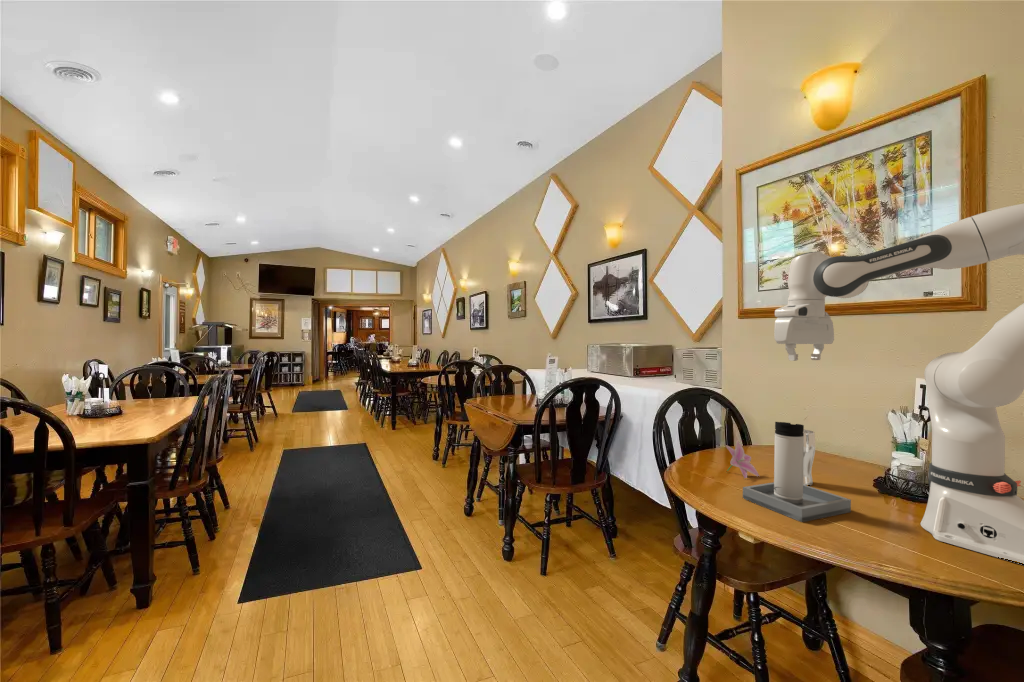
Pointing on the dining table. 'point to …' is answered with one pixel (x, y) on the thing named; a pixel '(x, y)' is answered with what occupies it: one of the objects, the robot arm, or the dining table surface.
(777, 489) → the travel mug
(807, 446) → the beer glass
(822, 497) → the serving tray
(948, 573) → the dining table surface
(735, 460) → the lily
